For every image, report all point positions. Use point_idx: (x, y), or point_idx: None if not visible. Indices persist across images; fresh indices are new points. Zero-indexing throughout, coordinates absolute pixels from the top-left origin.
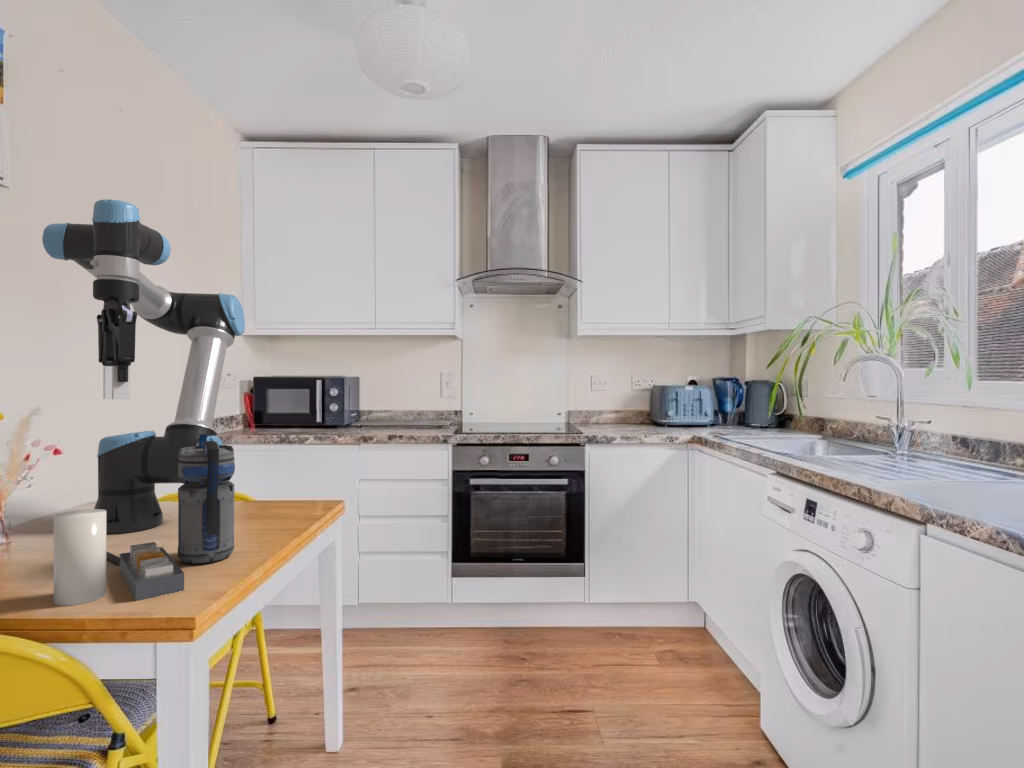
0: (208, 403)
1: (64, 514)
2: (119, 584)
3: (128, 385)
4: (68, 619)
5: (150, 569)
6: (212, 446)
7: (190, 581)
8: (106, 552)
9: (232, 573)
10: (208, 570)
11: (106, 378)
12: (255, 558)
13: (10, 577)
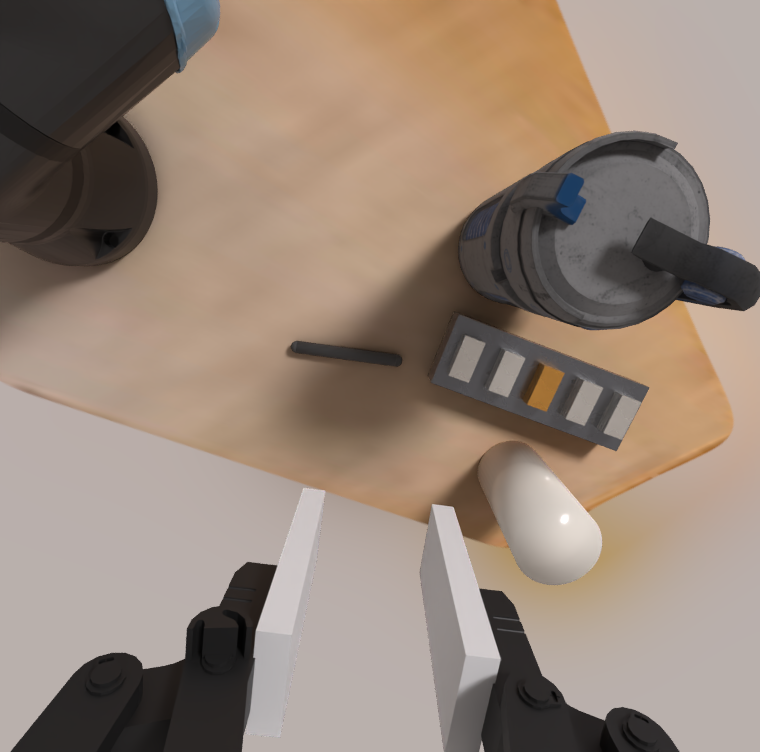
0: None
1: (534, 563)
2: (504, 414)
3: (467, 557)
4: None
5: (624, 433)
6: (756, 297)
7: (602, 348)
8: (329, 353)
9: None
10: None
11: (299, 641)
12: None
13: (305, 482)
